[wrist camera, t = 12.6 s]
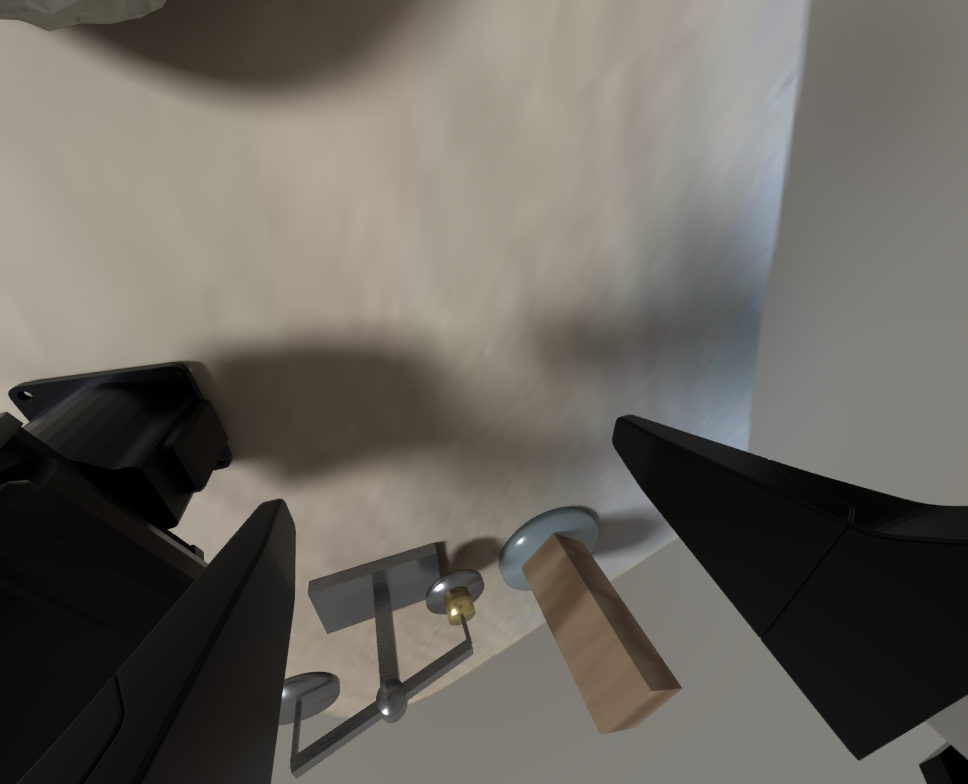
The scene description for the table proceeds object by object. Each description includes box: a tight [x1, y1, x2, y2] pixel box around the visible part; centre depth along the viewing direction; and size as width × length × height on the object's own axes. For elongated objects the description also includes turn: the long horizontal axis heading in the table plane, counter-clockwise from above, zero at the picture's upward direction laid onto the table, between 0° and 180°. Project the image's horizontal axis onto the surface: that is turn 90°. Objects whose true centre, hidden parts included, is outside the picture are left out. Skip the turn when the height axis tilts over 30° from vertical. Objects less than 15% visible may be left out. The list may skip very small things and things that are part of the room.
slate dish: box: [499, 507, 599, 591], centre depth 36 cm, size 11×11×1 cm
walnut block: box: [521, 533, 682, 734], centre depth 30 cm, size 5×5×13 cm
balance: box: [278, 543, 484, 778], centre depth 26 cm, size 17×6×10 cm, turn 91°
